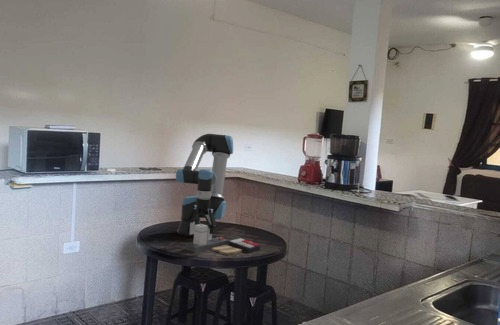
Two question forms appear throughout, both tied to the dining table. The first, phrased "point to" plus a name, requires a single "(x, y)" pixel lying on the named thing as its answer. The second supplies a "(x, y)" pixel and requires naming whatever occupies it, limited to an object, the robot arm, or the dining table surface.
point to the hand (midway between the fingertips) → (200, 236)
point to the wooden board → (226, 250)
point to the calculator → (244, 245)
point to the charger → (200, 234)
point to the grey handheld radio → (210, 244)
